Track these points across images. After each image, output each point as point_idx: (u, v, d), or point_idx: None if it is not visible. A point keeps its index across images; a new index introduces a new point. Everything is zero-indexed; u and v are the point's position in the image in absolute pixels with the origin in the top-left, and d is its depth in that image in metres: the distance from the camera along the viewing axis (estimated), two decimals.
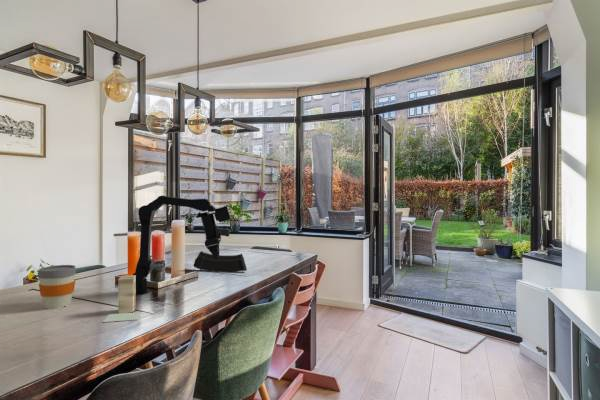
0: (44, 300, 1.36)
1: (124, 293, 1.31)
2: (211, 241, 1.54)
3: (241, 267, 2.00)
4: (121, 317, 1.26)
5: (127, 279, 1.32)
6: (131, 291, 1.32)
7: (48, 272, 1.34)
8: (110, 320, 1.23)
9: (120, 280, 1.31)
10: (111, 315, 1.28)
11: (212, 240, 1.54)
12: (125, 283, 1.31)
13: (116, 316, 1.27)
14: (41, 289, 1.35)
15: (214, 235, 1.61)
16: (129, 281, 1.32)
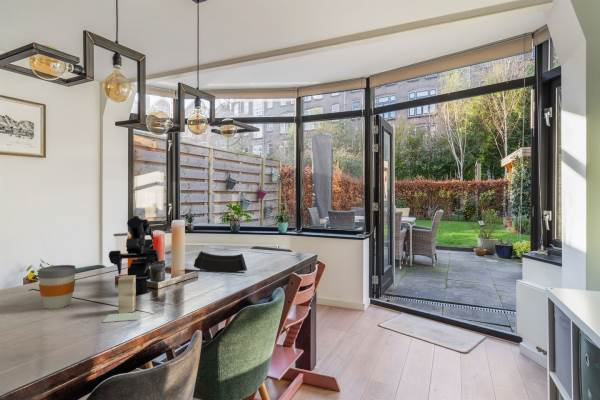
0: (44, 300, 1.36)
1: (124, 293, 1.31)
2: None
3: (241, 267, 2.00)
4: (121, 317, 1.26)
5: (127, 279, 1.32)
6: (131, 291, 1.32)
7: (48, 272, 1.34)
8: (110, 320, 1.23)
9: (120, 280, 1.31)
10: (111, 315, 1.28)
11: None
12: (125, 283, 1.31)
13: (116, 316, 1.27)
14: (41, 289, 1.35)
15: None
16: (129, 281, 1.32)
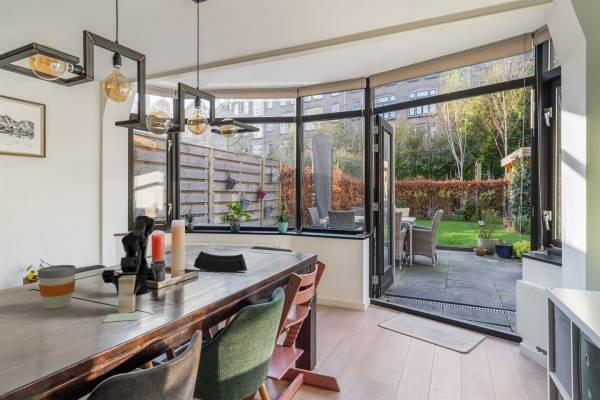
0: (44, 300, 1.36)
1: (124, 293, 1.31)
2: None
3: (241, 267, 2.00)
4: (121, 317, 1.26)
5: (127, 279, 1.32)
6: (131, 291, 1.32)
7: (48, 272, 1.34)
8: (110, 320, 1.23)
9: (120, 280, 1.31)
10: (111, 315, 1.28)
11: None
12: (125, 283, 1.31)
13: (116, 316, 1.27)
14: (41, 289, 1.35)
15: None
16: (129, 281, 1.32)
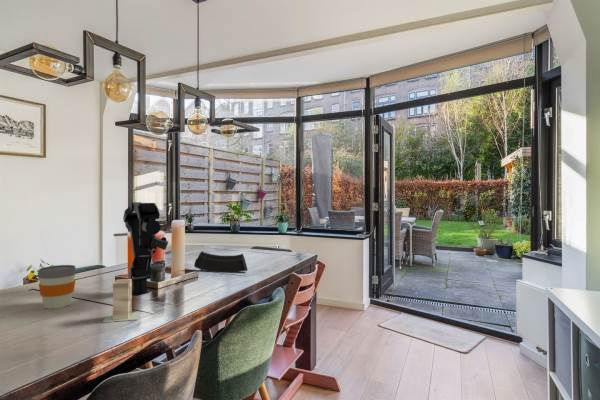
0: (44, 300, 1.36)
1: (119, 298, 1.24)
2: (142, 251, 1.38)
3: (241, 267, 2.00)
4: None
5: (122, 283, 1.24)
6: (126, 296, 1.25)
7: (48, 272, 1.34)
8: (110, 320, 1.23)
9: (115, 284, 1.24)
10: (111, 315, 1.28)
11: (144, 251, 1.39)
12: (120, 287, 1.24)
13: None
14: (41, 289, 1.35)
15: (149, 245, 1.45)
16: (124, 285, 1.24)
